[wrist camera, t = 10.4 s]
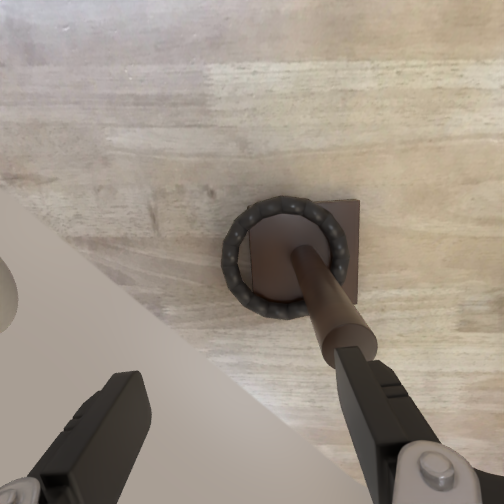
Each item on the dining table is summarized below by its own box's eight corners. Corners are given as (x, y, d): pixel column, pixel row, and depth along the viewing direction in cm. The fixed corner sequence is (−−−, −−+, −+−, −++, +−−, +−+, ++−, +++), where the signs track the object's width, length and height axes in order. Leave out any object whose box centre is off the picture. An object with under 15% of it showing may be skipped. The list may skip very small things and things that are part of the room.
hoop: (201, 280, 23) (198, 285, 22) (261, 171, 21) (260, 171, 20) (304, 334, 24) (306, 342, 23) (371, 235, 22) (377, 239, 21)
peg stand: (254, 304, 25) (246, 441, 12) (247, 205, 23) (230, 247, 10) (353, 299, 24) (452, 436, 12) (356, 198, 22) (478, 233, 10)
